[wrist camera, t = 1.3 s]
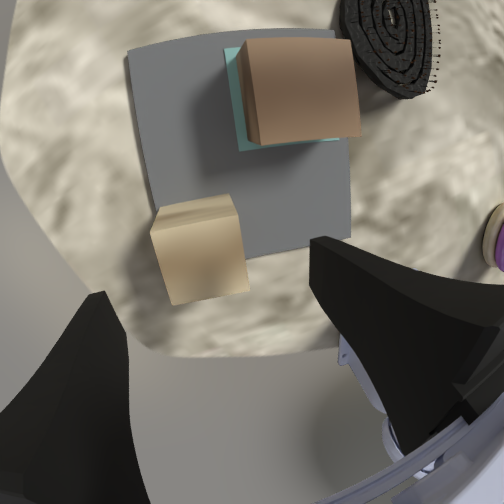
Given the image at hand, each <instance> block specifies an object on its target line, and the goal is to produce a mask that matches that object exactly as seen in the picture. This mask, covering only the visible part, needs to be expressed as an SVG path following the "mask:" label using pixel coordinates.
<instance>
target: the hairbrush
mask: <svg viewBox="0 0 504 504" xmlns="http://www.w3.org/2000/svg"><path fill="white" fill-rule="evenodd" d="M432 1H434V3H436V0H432ZM382 2H383V0H358V2H357V0H341V4H340V27H341V30H342V32H343V35H344V37H345V39H347V40H350V42H351V48H352V54H353V60H354V61H355V62H356V63H357V64H358V65H359V66H360V67H361V68H362V70H363V71H364V72H365V73H366V74H367V75H368V77H369V78H370V79H371V80H372V81H373V83H374V84H375V85H377V86H378V87H380V88H382V89H383V90H385V91H387V92H388V93H390V94H391V95H393V96H395V97H396V98H398V99H413V98H414V97H415V96H418V95H421V94H424V93H425V90H426V87H427V83H428V79H429V76H430V72H431V69H432V68H431V64H432V48H435V47H432V27H431V18H430V10H429V4H428V0H385V1H384V3H383V5H382ZM370 5H371V6H370ZM389 9H390V10H392V9H394V14H395V20H396V23H395V24H396V25H393V24H392V23H391V18H390V15H389V11H388V10H389ZM435 10H436V11H437V9H435ZM436 16H438V15H437V14H436ZM436 18H437V19H438V17H436ZM392 26H395V28H393V27H392ZM437 26H440V25H437ZM438 30H440V29H438ZM438 34H440V32H438ZM439 41H441V40H439ZM439 44H441V43H440V42H439ZM438 48H439V49H440V48H441V47H438ZM399 51H400V52H399ZM397 52H399V53H398V54H397V55H396V56H395V55H394V54H396V53H397ZM436 57H440V55H438V56H436ZM437 63H439V62H438V61H437ZM403 70H404V73H403V74H400V73H397V72H400V71H403ZM436 70H439V69H438V68H437V69H436ZM431 76H434V77H436V75H431ZM410 81H411V83H410V84H408V85H403V86H399V84H405V83H408V82H410ZM429 82H434V83H437V80H434V81H433V80H431V81H429ZM432 88H434V87H432ZM428 91H431V90H430V89H429V90H426V92H428Z"/></svg>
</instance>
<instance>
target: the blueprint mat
mask: <svg viewBox="0 0 504 504" xmlns="http://www.w3.org/2000/svg"><path fill="white" fill-rule="evenodd" d="M275 37H313V38H334V39H336V37H335V31H334V30H326V29H304V28H274V29H252V30H238V31H228V32H219V33H211V34H204V35H197V36H191V37H185V38H180V39H175V40H170V41H165V42H160V43H156V44H152V45H148V46H144V47H140V48H136V49H132V50H129V51H127V52H128V61H129V69H130V77H131V84H132V91H133V97H134V104H135V110H136V116H137V122H138V127H139V133H140V138H141V144H142V149H143V154H144V159H145V164H146V168H147V173H148V178H149V182H150V187H151V191H152V195H153V200H154V204H155V208H156V212H157V213H158V211H159V209H160V207H163V206H168V205H172V204H177V203H182V202H187V201H192V200H196V199H201V198H207V197H212V196H217V195H222V194H228V193H229V195H230V197H231V199H232V202H233V204H234V206H235V209H236V211H237V213H238V217H239V224H240V230H241V236H242V242H243V249H244V255H245V259H247V258H252V257H257V256H262V255H267V254H272V253H277V252H282V251H287V250H292V249H297V248H302V247H307V246H310V239H313V238H317V237H321V236H328V237H331V238H334V239H337V240H341V239H346V238H351V193H350V166H349V148H348V137H344V138H330V139H317V140H307V141H297V142H288V143H279V144H271V145H264V146H261V145H258V144H255V143H253V142H250V141H248V139H247V131H246V124H245V117H244V110H243V103H242V96H241V89H240V83H239V76H238V69H237V62H236V55H237V53H238V52H239V50H240V48H241V47H242V45H243V43H244V42H245V40H246V39H254V38H275Z"/></svg>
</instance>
